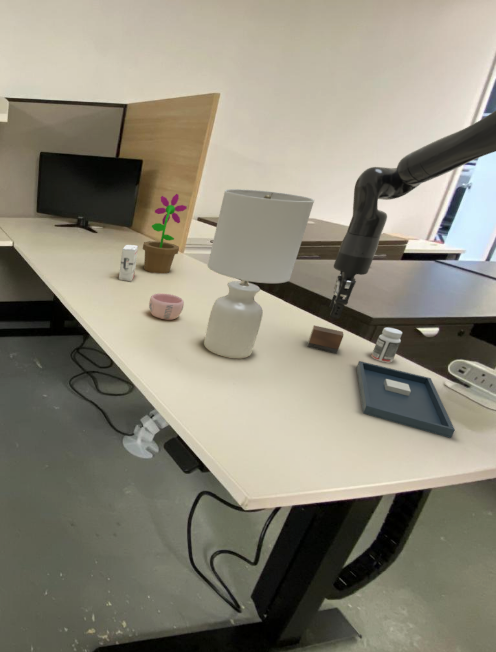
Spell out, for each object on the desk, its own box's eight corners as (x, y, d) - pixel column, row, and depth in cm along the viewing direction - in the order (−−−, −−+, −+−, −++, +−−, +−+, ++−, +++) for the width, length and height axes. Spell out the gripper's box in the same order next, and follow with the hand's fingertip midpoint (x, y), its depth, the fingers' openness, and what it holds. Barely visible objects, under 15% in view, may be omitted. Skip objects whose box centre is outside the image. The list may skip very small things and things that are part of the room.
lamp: (229, 332, 133) (267, 190, 117) (282, 362, 118) (334, 202, 101) (175, 338, 127) (207, 188, 111) (222, 370, 111) (268, 200, 95)
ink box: (121, 274, 182) (126, 243, 177) (134, 276, 180) (139, 245, 175) (117, 279, 174) (122, 248, 169) (130, 281, 173) (136, 250, 168)
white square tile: (406, 388, 108) (408, 384, 107) (408, 396, 104) (411, 391, 104) (383, 383, 109) (385, 378, 109) (385, 390, 106) (387, 385, 106)
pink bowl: (184, 323, 137) (188, 305, 135) (151, 321, 137) (154, 302, 135) (173, 309, 148) (177, 291, 146) (142, 307, 148) (145, 289, 146)
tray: (355, 368, 117) (358, 360, 116) (427, 385, 111) (430, 378, 110) (362, 414, 97) (366, 405, 96) (450, 439, 91) (455, 430, 90)
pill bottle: (393, 359, 124) (406, 331, 120) (390, 365, 121) (403, 335, 117) (372, 353, 127) (384, 325, 123) (369, 358, 123) (381, 329, 120)
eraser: (336, 350, 127) (343, 331, 125) (336, 354, 124) (343, 335, 122) (307, 343, 130) (313, 325, 128) (307, 347, 127) (313, 329, 125)
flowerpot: (178, 270, 193) (194, 195, 181) (168, 277, 182) (184, 198, 169) (145, 263, 200) (158, 190, 187) (133, 270, 188) (146, 193, 176)
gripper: (376, 261, 109) (351, 324, 116) (371, 250, 120) (349, 309, 127) (340, 254, 112) (317, 317, 119) (338, 245, 123) (318, 302, 130)
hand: (334, 313), depth 123 cm, fingers open, 8 cm apart
